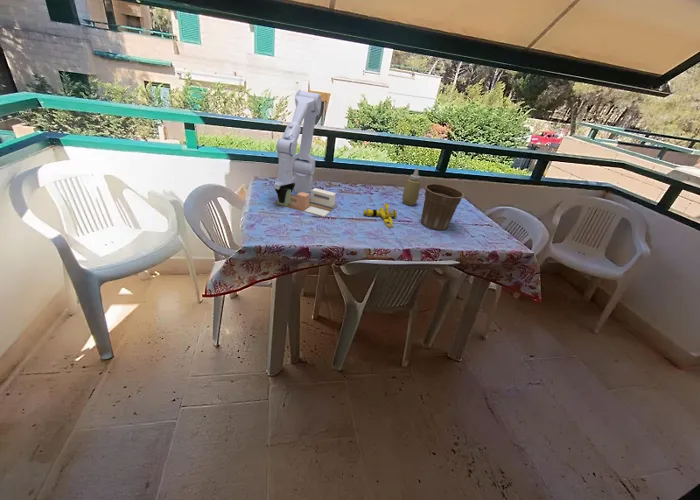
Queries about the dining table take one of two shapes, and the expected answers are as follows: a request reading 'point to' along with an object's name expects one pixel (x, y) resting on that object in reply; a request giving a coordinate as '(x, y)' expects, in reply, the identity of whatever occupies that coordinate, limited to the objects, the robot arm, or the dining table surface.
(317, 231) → the dining table surface
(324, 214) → the mat
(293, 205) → the service board
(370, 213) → the sprinkler
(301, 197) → the terracotta block
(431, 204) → the plant pot
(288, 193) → the sage block
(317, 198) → the mounted unit
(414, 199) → the squeeze bottle
